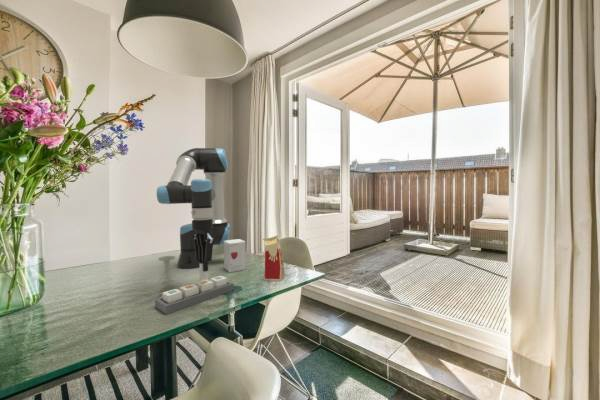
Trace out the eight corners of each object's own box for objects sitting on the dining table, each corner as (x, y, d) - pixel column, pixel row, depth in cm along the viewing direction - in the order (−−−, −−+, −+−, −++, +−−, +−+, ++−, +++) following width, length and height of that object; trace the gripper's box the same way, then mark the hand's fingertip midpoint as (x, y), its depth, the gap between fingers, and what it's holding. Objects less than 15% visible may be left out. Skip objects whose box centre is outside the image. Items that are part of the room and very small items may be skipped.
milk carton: (284, 274, 127) (283, 233, 126) (281, 281, 118) (280, 237, 117) (266, 274, 128) (265, 233, 127) (261, 280, 119) (260, 237, 118)
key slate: (210, 284, 108) (210, 278, 107) (220, 281, 111) (220, 275, 111) (216, 287, 104) (216, 280, 104) (227, 284, 108) (226, 277, 108)
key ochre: (195, 289, 103) (195, 282, 103) (207, 285, 107) (206, 279, 106) (202, 292, 100) (201, 285, 100) (213, 288, 103) (213, 281, 103)
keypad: (155, 307, 94) (154, 299, 93) (221, 285, 114) (221, 279, 114) (165, 314, 88) (165, 306, 88) (233, 290, 108) (233, 283, 108)
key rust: (180, 294, 98) (179, 287, 98) (192, 290, 102) (192, 283, 102) (186, 297, 95) (185, 290, 95) (198, 293, 99) (198, 286, 99)
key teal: (162, 299, 93) (162, 292, 93) (176, 295, 97) (175, 288, 97) (168, 303, 90) (168, 295, 90) (182, 298, 94) (182, 291, 94)
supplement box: (229, 272, 132) (228, 243, 131) (223, 268, 139) (223, 240, 138) (246, 269, 137) (245, 241, 136) (240, 265, 144) (239, 238, 143)
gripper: (184, 218, 103) (186, 278, 104) (201, 220, 95) (203, 285, 96) (202, 217, 109) (204, 273, 110) (220, 218, 101) (222, 279, 101)
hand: (204, 278), depth 103 cm, fingers closed
